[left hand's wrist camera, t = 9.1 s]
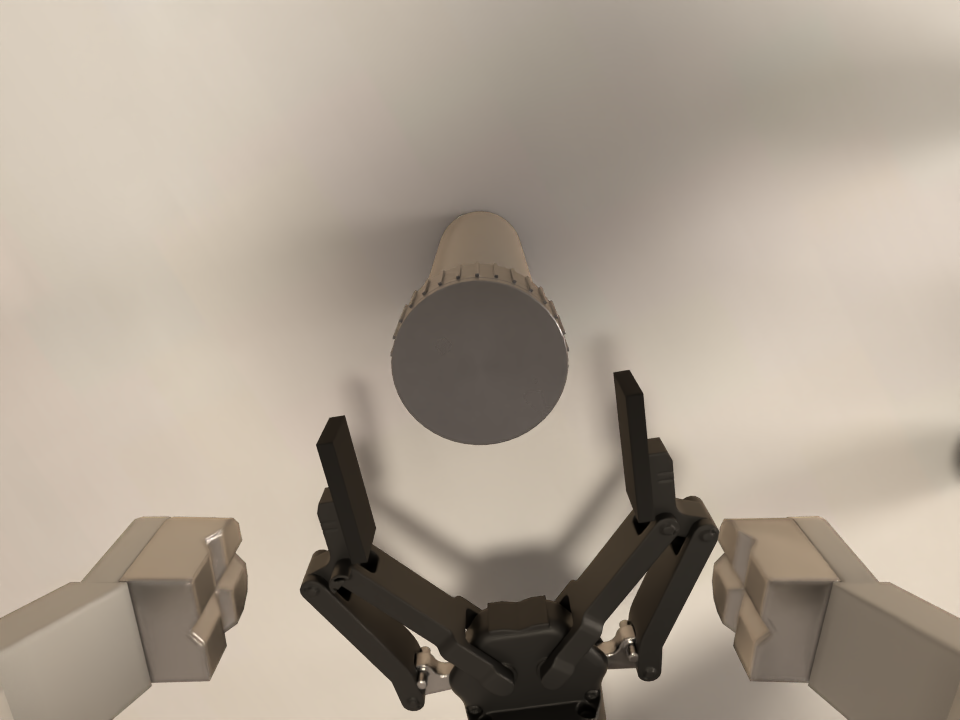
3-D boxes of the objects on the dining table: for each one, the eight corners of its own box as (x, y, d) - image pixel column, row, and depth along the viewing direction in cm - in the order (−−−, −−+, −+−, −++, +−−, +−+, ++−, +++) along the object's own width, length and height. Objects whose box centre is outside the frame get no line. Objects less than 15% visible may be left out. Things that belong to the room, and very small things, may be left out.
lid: (387, 402, 21) (377, 432, 19) (410, 246, 19) (401, 262, 17) (542, 427, 21) (548, 460, 19) (579, 277, 19) (590, 295, 17)
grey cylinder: (432, 285, 34) (397, 414, 19) (445, 203, 32) (417, 277, 18) (512, 299, 34) (536, 437, 19) (529, 219, 32) (568, 304, 18)
